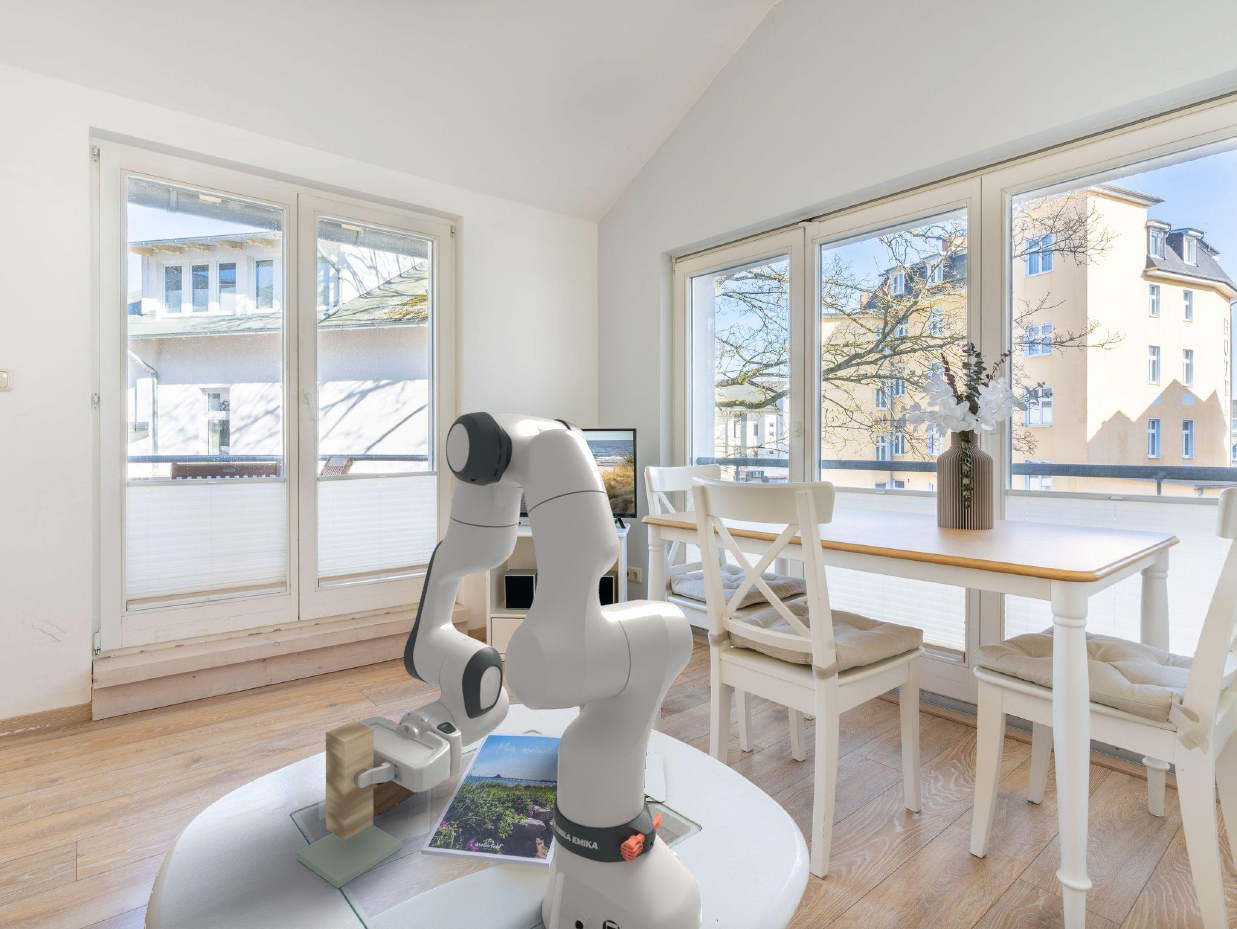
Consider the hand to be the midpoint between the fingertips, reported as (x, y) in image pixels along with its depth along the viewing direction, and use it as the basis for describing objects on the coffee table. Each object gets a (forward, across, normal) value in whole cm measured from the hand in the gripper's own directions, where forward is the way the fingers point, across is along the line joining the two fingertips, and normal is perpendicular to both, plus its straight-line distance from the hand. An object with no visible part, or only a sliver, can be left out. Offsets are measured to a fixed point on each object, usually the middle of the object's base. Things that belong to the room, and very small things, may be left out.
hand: (344, 774), depth 90 cm
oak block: (-1, 0, +8) cm, 8 cm away
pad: (-1, 0, +12) cm, 12 cm away
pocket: (-13, -9, +12) cm, 20 cm away
